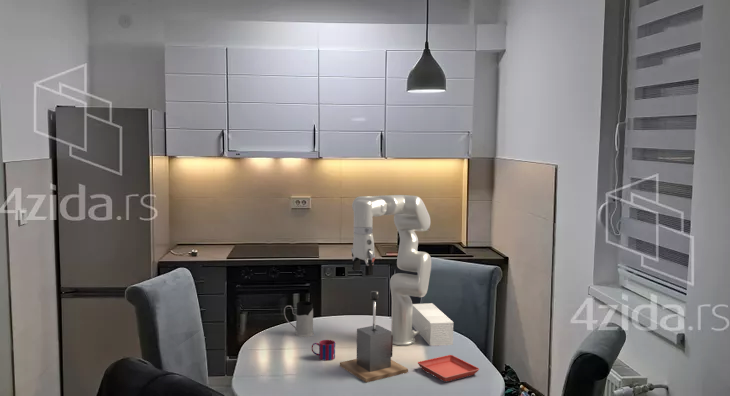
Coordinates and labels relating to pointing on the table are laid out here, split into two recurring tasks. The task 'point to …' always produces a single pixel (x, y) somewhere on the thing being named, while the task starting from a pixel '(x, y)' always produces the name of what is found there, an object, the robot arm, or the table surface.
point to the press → (374, 348)
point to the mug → (326, 350)
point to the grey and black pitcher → (303, 319)
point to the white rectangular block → (432, 324)
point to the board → (374, 375)
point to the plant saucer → (448, 368)
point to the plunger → (374, 305)
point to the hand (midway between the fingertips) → (362, 272)
